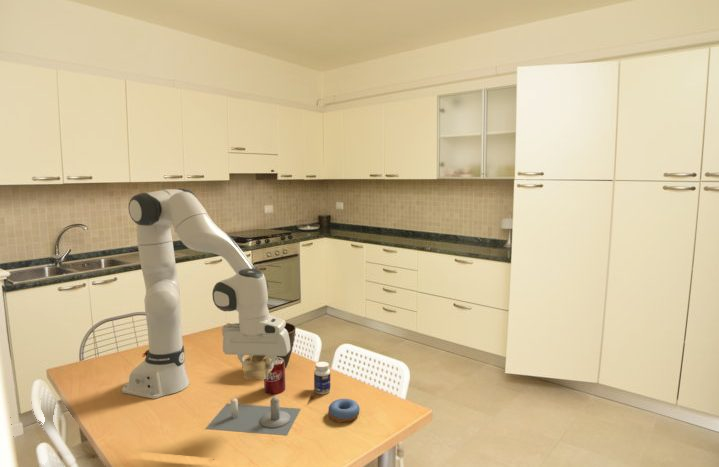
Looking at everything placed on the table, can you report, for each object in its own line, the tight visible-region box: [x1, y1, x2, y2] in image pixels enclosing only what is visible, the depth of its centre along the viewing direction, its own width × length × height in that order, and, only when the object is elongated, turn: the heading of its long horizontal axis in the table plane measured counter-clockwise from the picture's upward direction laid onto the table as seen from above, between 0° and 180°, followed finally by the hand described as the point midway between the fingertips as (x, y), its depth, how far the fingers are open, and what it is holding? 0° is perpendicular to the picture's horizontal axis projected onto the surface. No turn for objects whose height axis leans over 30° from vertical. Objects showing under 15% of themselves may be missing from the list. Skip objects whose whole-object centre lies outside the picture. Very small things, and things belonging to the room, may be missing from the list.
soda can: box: [263, 357, 287, 396], centre depth 157 cm, size 7×7×12 cm
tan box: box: [242, 355, 272, 380], centre depth 136 cm, size 6×6×5 cm
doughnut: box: [327, 398, 360, 423], centre depth 143 cm, size 10×10×5 cm
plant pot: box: [276, 322, 297, 369], centre depth 178 cm, size 15×15×16 cm
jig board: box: [204, 396, 302, 436], centre depth 138 cm, size 25×15×9 cm, turn 82°
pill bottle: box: [313, 361, 331, 395], centre depth 158 cm, size 6×6×10 cm
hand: (258, 367), depth 136 cm, fingers closed on tan box, 6 cm apart
